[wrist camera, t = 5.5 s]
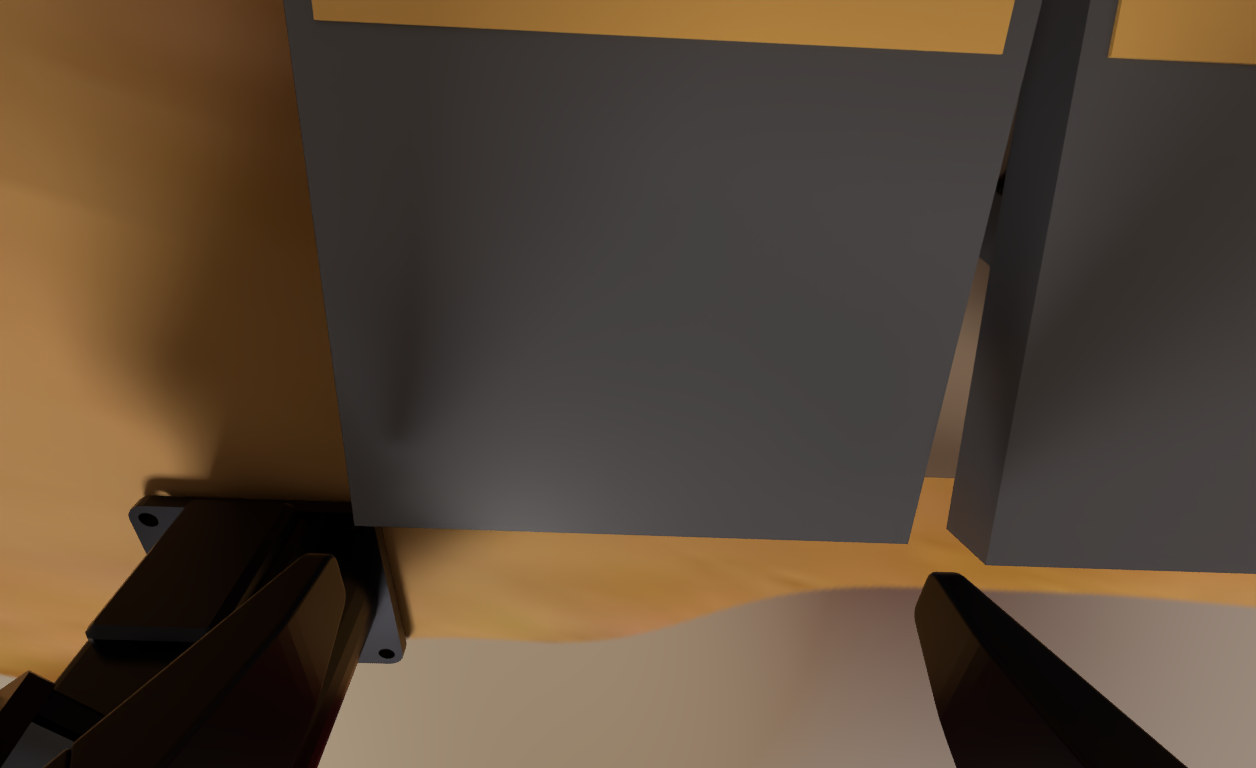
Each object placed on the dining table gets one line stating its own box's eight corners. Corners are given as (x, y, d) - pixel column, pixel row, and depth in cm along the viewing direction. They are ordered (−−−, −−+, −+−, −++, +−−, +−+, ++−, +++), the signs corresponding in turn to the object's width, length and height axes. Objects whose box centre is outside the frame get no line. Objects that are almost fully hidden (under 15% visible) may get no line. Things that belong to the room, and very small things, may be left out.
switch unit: (1256, 464, 17) (1330, 524, 16) (414, 433, 17) (387, 492, 15) (1712, -177, 10) (1946, -206, 9) (302, -261, 10) (227, -312, 8)
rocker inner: (880, 501, 13) (909, 546, 12) (380, 484, 13) (353, 527, 12) (1012, -92, 10) (1076, -125, 8) (310, -130, 9) (257, -172, 8)
